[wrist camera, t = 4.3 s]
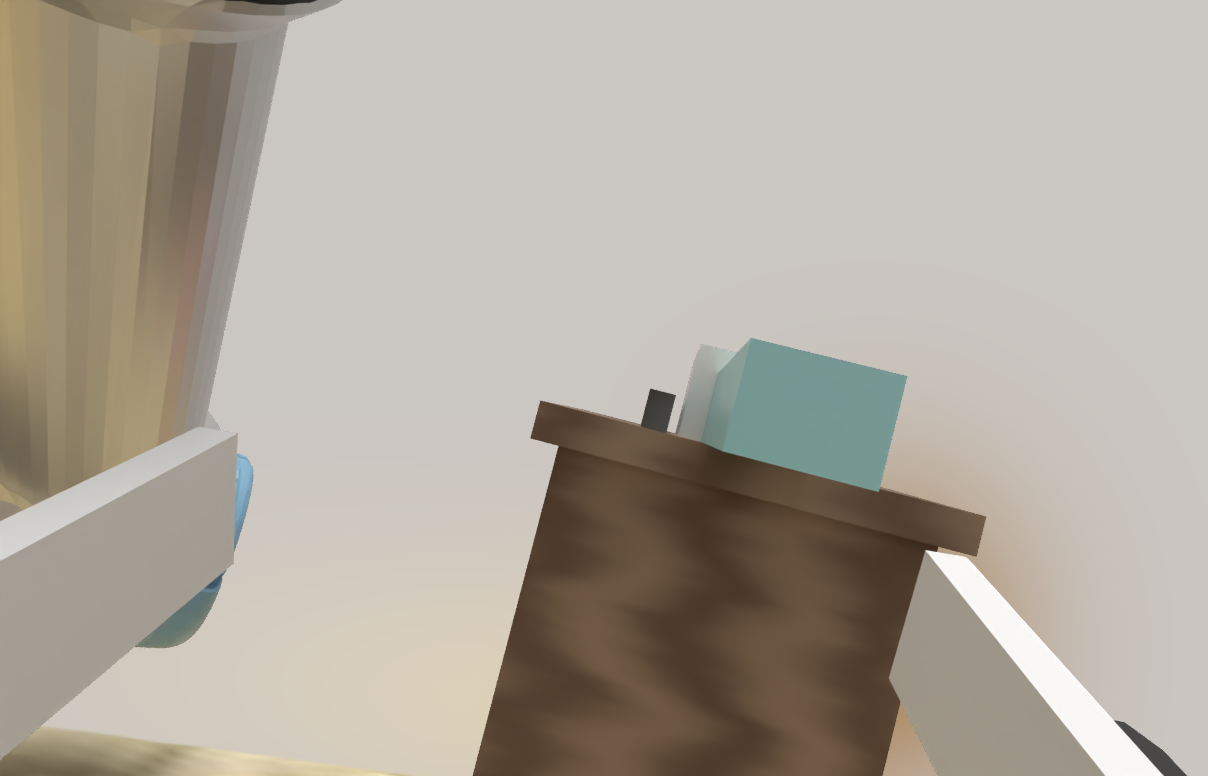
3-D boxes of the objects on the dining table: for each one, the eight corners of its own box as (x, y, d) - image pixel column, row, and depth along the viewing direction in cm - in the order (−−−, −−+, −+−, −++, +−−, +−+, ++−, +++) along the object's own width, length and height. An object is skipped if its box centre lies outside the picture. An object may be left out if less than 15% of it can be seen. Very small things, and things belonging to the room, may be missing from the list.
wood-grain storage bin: (337, 1175, 27) (550, 362, 28) (448, 923, 41) (588, 384, 42) (785, 1345, 26) (995, 476, 27) (744, 1023, 40) (883, 459, 41)
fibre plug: (684, 441, 19) (722, 291, 19) (674, 433, 42) (692, 365, 42) (918, 502, 18) (956, 347, 18) (778, 460, 41) (796, 391, 41)
